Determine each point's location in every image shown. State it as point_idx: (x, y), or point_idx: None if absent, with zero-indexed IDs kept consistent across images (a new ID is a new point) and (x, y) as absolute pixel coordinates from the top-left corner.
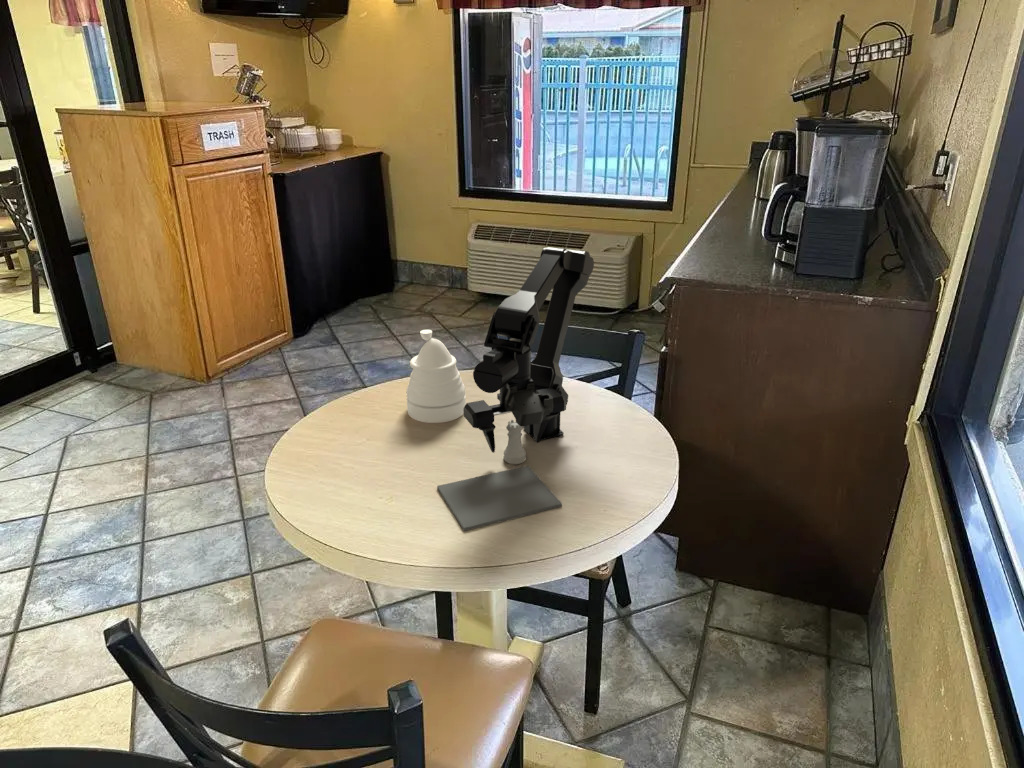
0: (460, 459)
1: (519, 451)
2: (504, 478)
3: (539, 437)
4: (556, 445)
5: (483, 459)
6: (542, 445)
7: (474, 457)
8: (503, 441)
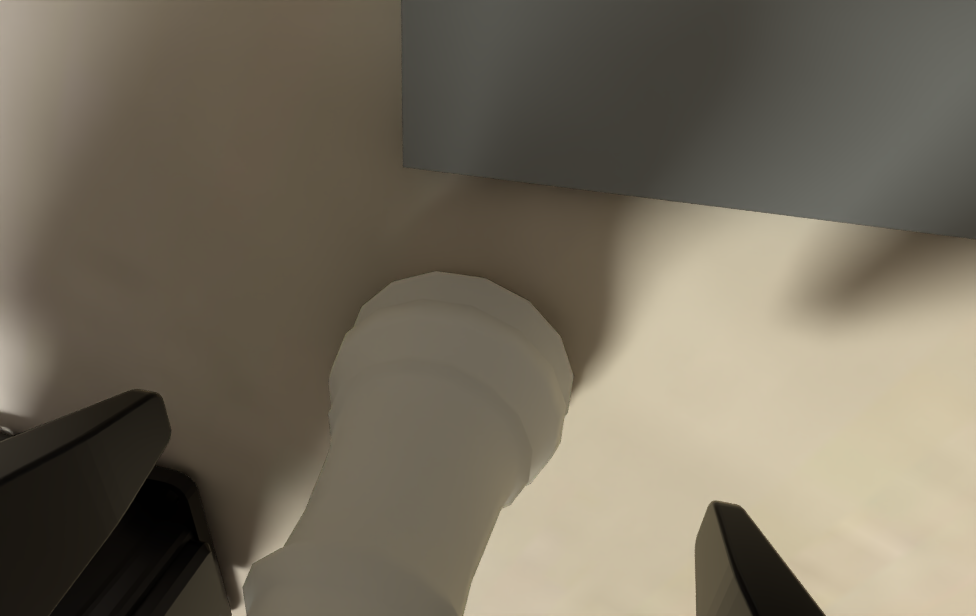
0: (888, 597)
1: (409, 368)
2: (866, 23)
3: (65, 428)
4: (54, 354)
5: None
6: None
7: None
8: None
